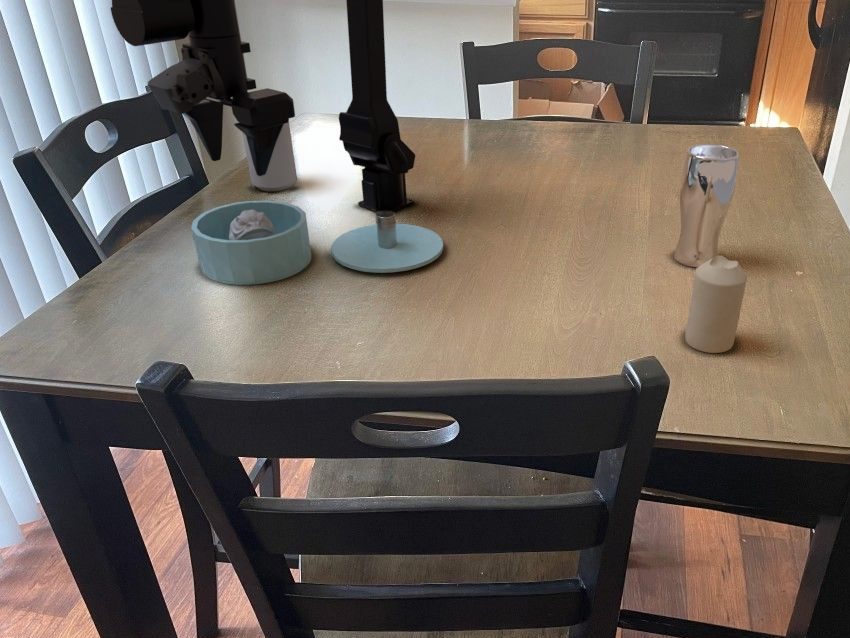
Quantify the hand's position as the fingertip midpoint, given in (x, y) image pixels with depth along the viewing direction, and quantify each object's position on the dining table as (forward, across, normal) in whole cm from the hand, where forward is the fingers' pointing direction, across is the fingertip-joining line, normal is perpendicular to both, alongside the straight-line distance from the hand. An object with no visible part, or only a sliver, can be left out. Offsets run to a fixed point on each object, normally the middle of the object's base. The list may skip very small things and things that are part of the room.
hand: (238, 167), depth 97 cm
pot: (+13, 0, 0) cm, 13 cm away
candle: (+13, +58, +19) cm, 62 cm away
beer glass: (+13, +47, +38) cm, 62 cm away
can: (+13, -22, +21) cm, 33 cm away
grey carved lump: (+13, 0, 0) cm, 13 cm away
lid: (+12, +12, +13) cm, 22 cm away
